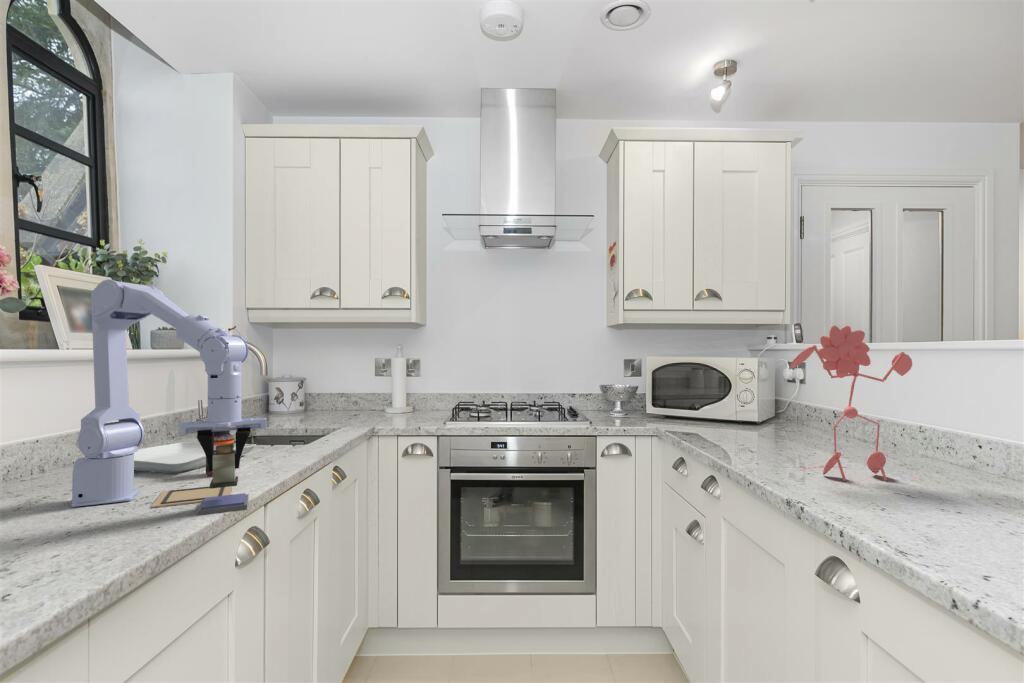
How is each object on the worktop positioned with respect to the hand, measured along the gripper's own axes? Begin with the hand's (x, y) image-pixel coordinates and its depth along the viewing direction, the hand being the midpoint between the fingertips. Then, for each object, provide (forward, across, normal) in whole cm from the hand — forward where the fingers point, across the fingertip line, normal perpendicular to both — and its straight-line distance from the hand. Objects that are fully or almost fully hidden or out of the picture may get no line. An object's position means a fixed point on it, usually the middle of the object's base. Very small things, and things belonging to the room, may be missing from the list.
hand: (224, 468), depth 98 cm
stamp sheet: (+7, -6, +11) cm, 14 cm away
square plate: (+8, -14, +51) cm, 53 cm away
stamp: (+3, 0, 0) cm, 3 cm away
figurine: (+8, +130, -38) cm, 136 cm away
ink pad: (+7, 0, 0) cm, 7 cm away
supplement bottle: (+7, -3, +31) cm, 32 cm away
